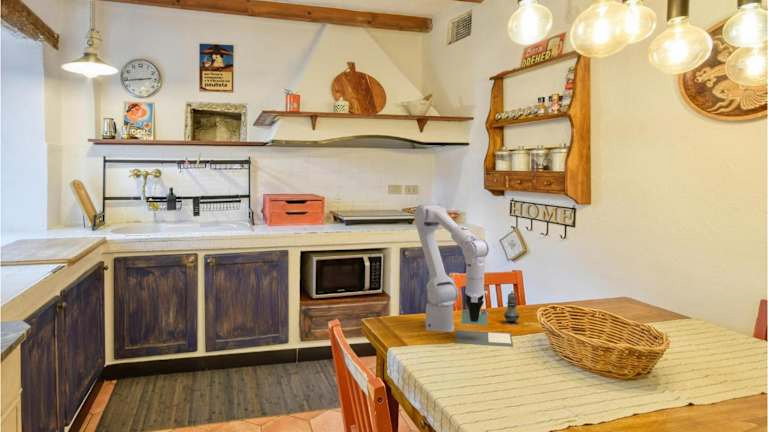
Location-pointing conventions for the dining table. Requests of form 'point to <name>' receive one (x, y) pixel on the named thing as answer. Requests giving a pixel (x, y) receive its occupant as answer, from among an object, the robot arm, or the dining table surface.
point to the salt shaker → (511, 310)
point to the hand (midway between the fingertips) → (474, 319)
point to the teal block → (481, 320)
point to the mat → (484, 338)
